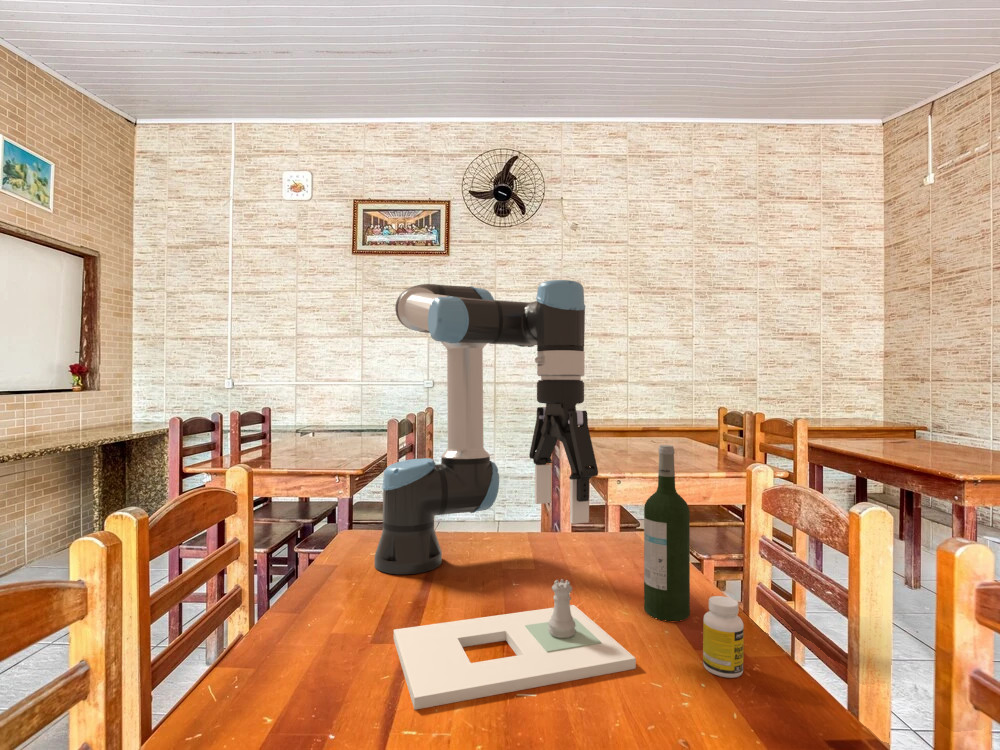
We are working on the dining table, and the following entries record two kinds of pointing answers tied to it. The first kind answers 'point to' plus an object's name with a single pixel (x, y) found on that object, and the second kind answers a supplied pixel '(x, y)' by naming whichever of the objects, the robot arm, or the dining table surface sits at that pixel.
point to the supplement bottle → (723, 638)
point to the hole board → (540, 658)
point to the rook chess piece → (562, 611)
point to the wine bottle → (666, 546)
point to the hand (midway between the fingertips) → (559, 512)
